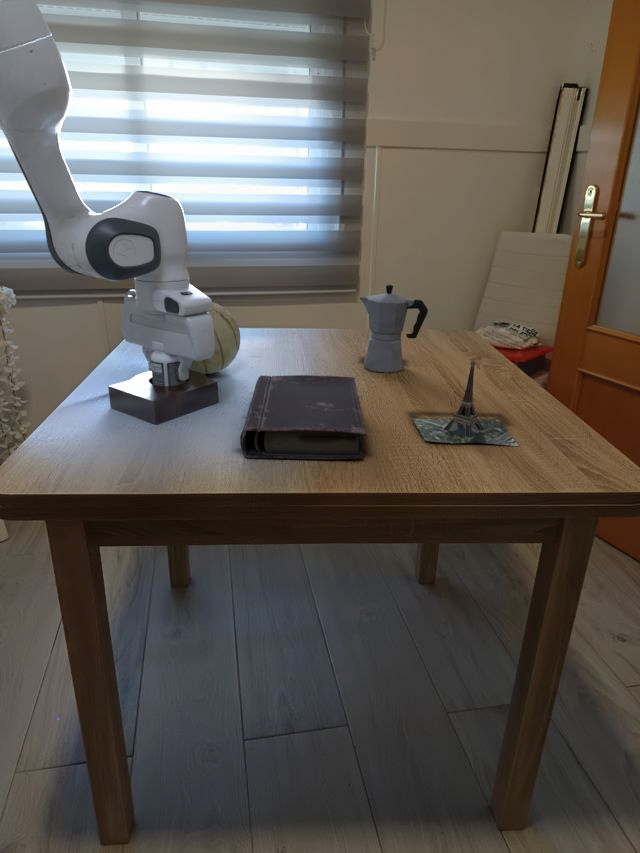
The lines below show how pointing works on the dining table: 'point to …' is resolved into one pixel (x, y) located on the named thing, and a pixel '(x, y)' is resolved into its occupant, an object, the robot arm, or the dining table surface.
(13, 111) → the robot arm
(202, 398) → the dark holder block
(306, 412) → the diary
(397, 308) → the coffeepot
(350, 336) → the dining table surface
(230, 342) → the cantaloupe
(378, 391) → the dining table surface
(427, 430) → the eiffel tower figurine
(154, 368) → the pill bottle
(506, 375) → the dining table surface
